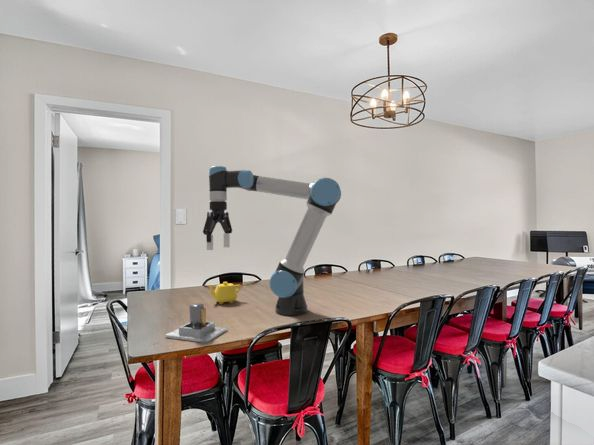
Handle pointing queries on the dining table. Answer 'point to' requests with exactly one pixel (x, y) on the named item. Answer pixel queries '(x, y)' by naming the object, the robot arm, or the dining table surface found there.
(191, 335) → the collar
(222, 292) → the teapot
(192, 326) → the grey rounded cylinder
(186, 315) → the dining table surface
